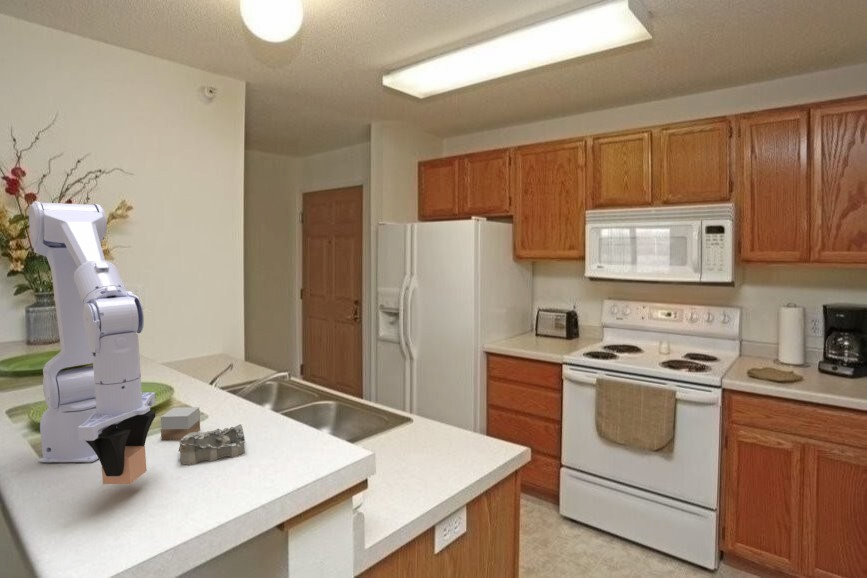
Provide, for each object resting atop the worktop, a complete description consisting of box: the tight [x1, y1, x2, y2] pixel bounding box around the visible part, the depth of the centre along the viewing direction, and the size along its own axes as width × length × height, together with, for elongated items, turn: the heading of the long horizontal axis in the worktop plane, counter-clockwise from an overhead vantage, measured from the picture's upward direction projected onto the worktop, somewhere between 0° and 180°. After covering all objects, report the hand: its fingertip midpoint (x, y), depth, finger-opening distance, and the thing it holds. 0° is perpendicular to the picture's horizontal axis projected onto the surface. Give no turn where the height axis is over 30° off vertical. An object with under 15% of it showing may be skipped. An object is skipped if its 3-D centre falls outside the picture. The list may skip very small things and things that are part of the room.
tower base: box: [160, 419, 201, 441], centre depth 95 cm, size 5×5×2 cm
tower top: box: [160, 406, 201, 430], centre depth 95 cm, size 5×5×2 cm
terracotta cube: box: [101, 446, 147, 485], centre depth 73 cm, size 4×4×4 cm
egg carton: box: [178, 423, 246, 466], centre depth 87 cm, size 11×8×4 cm
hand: (124, 467), depth 73 cm, fingers closed on terracotta cube, 4 cm apart
